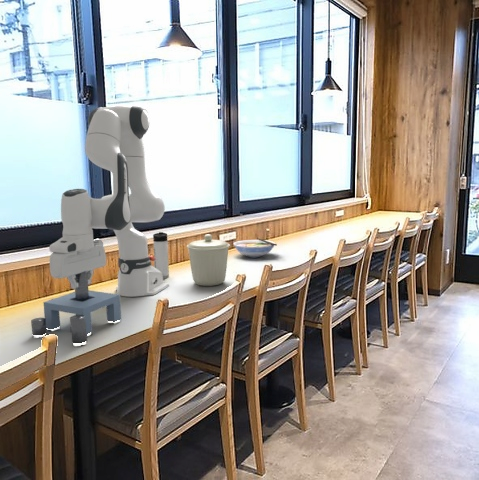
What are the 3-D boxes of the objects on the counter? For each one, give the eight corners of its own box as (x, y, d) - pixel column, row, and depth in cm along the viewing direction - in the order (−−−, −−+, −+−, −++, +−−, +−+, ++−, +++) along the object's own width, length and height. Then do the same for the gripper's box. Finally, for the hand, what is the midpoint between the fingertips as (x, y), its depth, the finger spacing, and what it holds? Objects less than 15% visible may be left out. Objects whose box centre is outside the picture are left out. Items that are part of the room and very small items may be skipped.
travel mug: (169, 275, 213) (168, 232, 210) (168, 278, 206) (166, 234, 203) (156, 275, 213) (154, 232, 210) (153, 279, 206) (151, 234, 203)
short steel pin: (40, 332, 142) (39, 316, 141) (49, 334, 140) (48, 318, 139) (29, 337, 138) (28, 320, 138) (39, 339, 137) (37, 322, 136)
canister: (204, 276, 210) (202, 230, 207) (238, 281, 201) (237, 232, 197) (179, 285, 195) (177, 235, 191) (215, 291, 186) (213, 238, 182)
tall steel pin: (83, 311, 149) (80, 269, 147) (92, 313, 147) (90, 270, 145) (73, 315, 146) (70, 271, 143) (83, 317, 144) (80, 272, 142)
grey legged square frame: (83, 315, 158) (82, 289, 156) (121, 321, 151) (119, 294, 149) (45, 330, 144) (43, 302, 142) (84, 338, 137) (82, 308, 135)
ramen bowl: (227, 253, 262) (227, 239, 261) (265, 251, 269) (265, 237, 267) (241, 262, 238) (241, 246, 237) (282, 259, 245) (282, 243, 244)
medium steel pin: (80, 340, 135) (78, 313, 134) (90, 342, 133) (87, 316, 131) (69, 345, 132) (66, 318, 130) (78, 347, 130) (76, 320, 128)
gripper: (94, 237, 154) (97, 278, 156) (44, 247, 135) (48, 293, 138) (109, 238, 151) (112, 279, 153) (60, 248, 133) (63, 295, 135)
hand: (81, 286), depth 145 cm, fingers closed on tall steel pin, 4 cm apart
